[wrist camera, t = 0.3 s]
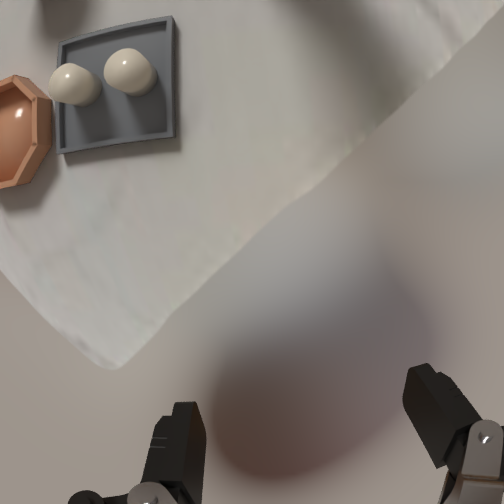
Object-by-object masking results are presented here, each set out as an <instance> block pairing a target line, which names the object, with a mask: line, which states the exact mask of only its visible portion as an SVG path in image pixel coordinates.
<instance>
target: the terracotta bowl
mask: <svg viewBox="0 0 504 504" xmlns="http://www.w3.org/2000/svg"><path fill="white" fill-rule="evenodd" d="M51 101H52V100H51V99H50V98H49V97H48V96H46V95H45V94H44V93H43V92H42V91H41V90H40V89H39V88H38V87H37V86H36V85H35V84H34V83H33V82H31V81H30V80H29V78H25V77H21V76H17V75H13V76H10V77H8V78H6V79H4V80H1V81H0V189H2V188H5V187H10V186H17V185H21V184H25V183H30V182H31V180H32V178H33V176H34V174H35V173H36V171H37V169H38V167H39V166H40V164H41V162H42V160H43V159H44V157H45V155H46V154H47V152H48V151H49V149H50V147H51V146H52V130H51Z"/></svg>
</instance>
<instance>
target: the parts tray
mask: <svg viewBox="0 0 504 504" xmlns="http://www.w3.org/2000/svg"><path fill="white" fill-rule="evenodd" d="M174 22H175V20H174V19H173V17H172V16H166V17H159V18H153V19H148V20H142V21H137V22H132V23H127V24H123V25H118V26H114V27H110V28H106V29H102V30H98V31H95V32H91V33H88V34H84V35H81V36H78V37H74V38H71V39H68V40H65V41H62V42H59V47H58V58H57V68H59V67H60V66H62V65H64V64H67V63H73V64H76V65H78V66H80V67H82V68H84V69H86V70H88V71H90V72H92V73H94V74H96V75H98V76H99V78H100V79H101V82H102V90H101V93H100V96H99V97H98V99H97V100H96V101H95V102H94V103H93V104H91V105H89V106H87V107H79V106H75V105H71V104H66V103H62V102H57V101H56V102H55V123H56V152H57V154H65V153H70V152H76V151H81V150H86V149H92V148H98V147H104V146H111V145H117V144H124V143H131V142H139V141H147V140H155V139H164V138H174V137H176V133H175V102H174ZM126 48H131V49H135V50H137V51H138V52H140V53H141V54H142V55H143V56H144V57H145V58H146V59H147V60H148V61H149V62H150V63H151V64H152V65H153V66H154V67H155V68H156V70H157V74H158V78H157V82H156V85H155V86H154V88H153V89H152V90H151V91H150V92H149V93H147V94H146V95H143V96H140V97H134V96H130V95H128V94H126V93H124V92H122V91H120V90H118V89H116V88H114V87H112V86H110V85H109V84H108V83H107V82H106V80H105V78H104V67H105V64H106V62H107V60H108V59H109V58H110V57H111V56H112V55H113V54H114V53H115V52H117V51H119V50H121V49H126Z"/></svg>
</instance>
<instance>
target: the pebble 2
mask: <svg viewBox="0 0 504 504" xmlns="http://www.w3.org/2000/svg"><path fill="white" fill-rule="evenodd" d="M104 78H105V80H106V82H107V83H108V84H109V85H110V86H112V87H114V88H116V89H118V90H120V91H122V92H124V93H126V94H128V95H130V96H134V97H140V96H143V95H146V94H147V93H149V92H150V91H151V90H152V89H153V88H154V86H155V85H156V82H157V78H158V74H157V70H156V68H155V67H154V66H153V65H152V64H151V63H150V62H149V61H148V60H147V59H146V58H145V57H144V56H143V55H142V54H141V53H140V52H138V51H137V50H135V49H131V48H126V49H121V50H119V51H117V52H115V53H114V54H113V55H112V56H111V57H110V58H109V59H108V60H107V62H106V64H105V67H104Z"/></svg>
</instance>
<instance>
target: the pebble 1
mask: <svg viewBox="0 0 504 504" xmlns="http://www.w3.org/2000/svg"><path fill="white" fill-rule="evenodd" d="M48 90H49V94H50V96H51V98H52V99H53V100H55V101H57V102H62V103H66V104H71V105H75V106H79V107H87V106H89V105H91V104H93V103H94V102H95V101H96V100H97V99H98V97H99V96H100V93H101V90H102V82H101V79H100V78H99V76H98V75H96V74H94V73H92V72H90V71H88V70H86V69H84V68H82V67H80V66H78V65H76V64H73V63H67V64H64V65H62V66H60V67H59V68H57V69H56V70H55V72H54V73H53V74H52V76H51V78H50V81H49V85H48Z"/></svg>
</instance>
